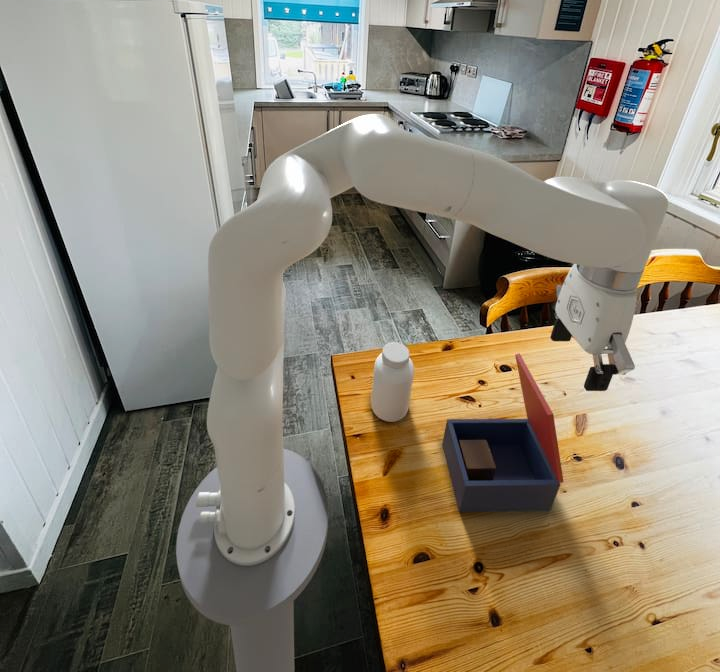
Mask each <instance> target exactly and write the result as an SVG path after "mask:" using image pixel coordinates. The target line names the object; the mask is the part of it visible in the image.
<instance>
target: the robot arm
mask: <svg viewBox="0 0 720 672" xmlns="http://www.w3.org/2000/svg"><path fill="white" fill-rule="evenodd" d="M353 187H354V188H355V190H356V191H357V192H358V193H359V194H360V195H362V196H363V197H365V198H366V199H367V200H368V199H369V201H372V202H375V203H379V204H382V205H386V206H391V207H396V208H400V209H405V210H409V211H413V212H419V213H424V214H429V215H433V216H437V217H442V218H445V219H449V220H453V221H454V220H455V221H458V222H463V223H466V224H470V225H472V226H474V227H476V228H479V229H480V230H482V231H484V232H487V233H489V234H491V235H493V236H495V237H497V238H501V239H503V240H505V241H508V242H510V243H512V244H514V245H517V246H519V247H522V248H524V249H526V250H529V251H531V252H533V253H536V254H539V255H541V256H543V257H547V258H549V259H553V260H556V261H560V262H565V263H569V264H572V266H571V268H570V270H569V271H568V273H567V275H566V277H565V279H564V282H563V283H562V284H557V285H556V289H555V290H556V298H555V300H554V303H555V308H554V310H555V312H554V318H555V320H554V323H553V327H552V330H551V334H550V337H549V338H550V340H551V341H552V342H570V341H572V338H573V339H574V340H575V341H576V342H577V344H578V345H579V346H580V347H581V349H583V351H585V353H587V354H588V355H592V359H593V366H590V368H589V370H588V373H587V375H586V378H585V381H584V383H583V389H584V390H585V391H586V392H606V391H607V390H608V389H609V387H610V386H609V385H610V383H611V381H612V379H613V376H615V375H617V376H619V375H620V376H621V375H626V374H627V373H630V372H631V371H634V370H635V369H636V368H635V367H636V366H635V363H634V361H633V358H632V357H631V353H630V351H629V349H628V346H627V345H626V343H627V340H628V337H629V335H630V330H631V327H632V324H633V321H634V316H635V311H636V306H637V298H638V293H637V292H636V291H637V289H638V287H639V285H640V282H641V279H642V277H643V274H644V271H645V268H646V266H647V263H648V260H649V258H650V255H651V253H652V251H653V247H654V245H655V243H656V240H657V238H658V235H659V232H660V230H661V227H662V224H663V221H664V219H665V217H666V214H667V211H668V208H669V199H668V196H667V195H666V194H665V192H663V191H662V190H660V189H659V188H656V187H655V186H652V185H650V184H646V183H643V182H639V181H634V180H626V179H625V180H624V179H615V180H610V181H599V180H592V179H586V178H580V177H574V176H565V175H561V176H554V177H551V178H548V179H545V180H542V179H539V178H538V177H536V176H535V175H532V174H530V173H528V172H527V171H525V170H523V169H522V168H520V167H518V166H516V165H514V164H513V163H511V162H509V161H506V160H505V159H502V158H500V157H498V156H496V155H493V154H491V153H488V152H485V151H481V150H477V149H473V148H469V147H466V146H462V145H458V144H456V143H451V142H448V141H444V140H440V139H437V138H433V137H430V136H428V135H427V136H426V135H423V134H420V133H416V132H412V131H409V130H406V129H403V127H401V126H400V125H399V124H398V123H397V122H396V121H395V120H394V119H392V118H391V117H390V116H387V115H385V114H379V113H368V114H364V115H360V116H358V117H355V118H353V119H351V120H348V121H346V122H344V123H343V124H340V125H338V126H337V127H335V128H332V129H330V130H329V131H327V132H324V133H322V134H320V135H319V136H317V137H315V138H313V139H310V140H309V141H307V142H305V143H302V144H300V145H299V146H296V147H294V148H292V149H290V150H289V151H287V152H285V153H283V154H281V155H280V156H278V157H277V158H275V160H274V161H273V162H271V163H270V164H269V166H268V167H267V169H266V170H265V172H264V174H263V176H262V179H261V182H260V187H259V191H258V195H257V199H256V201H254V202H253V203H252V204H250V205H248V206H247V207H245V208H243V209H242V210H240V211H238V212H236V213H235V214H233V215H231V216H230V217H229V218H227V220H225V221H224V222H223V223H222V224H221V226H220V227H218V229H217V230H216V232H215V233H214V235H213V236H212V239H211V241H210V243H209V247H208V257H207V275H208V277H207V278H208V322H209V323H208V324H209V325H208V326H209V327H208V329H209V330H208V331H209V332H208V340H209V341H208V343H209V350H210V352H211V356H212V359H213V361H214V363H215V365H216V366H217V369H216V371H215V375H214V379H213V384H212V388H211V391H210V395H209V400H208V405H207V406H208V407H207V414H206V430H207V434H208V437H209V439H210V441H211V443H212V446H213V450H214V455H215V456H214V457H215V461H216V462H215V463H216V467H217V470H218V478H219V486H220V490H219V492H216V493H211V492H199V494H198V497H197V502H196V506H197V507H208V506H216V509H217V511H216V512H210V511H202V512H201V514H200V519H199V522H200V523H208V522H214V535H215V540H216V544H217V546H218V549H219V550H220V552H221V553H222V555H223V556H224V557H225V558H226V559H227V560H228V561H230V562H232V563H234V564H237V565H242V566H252V565H256V564H260V563H262V562H264V561H266V560H268V559H269V558H271V557H272V556H273V555H275V554H276V553H277V552H278V551H279V550H280V549H281V548H282V546H283V545H284V543H285V542H286V540H287V539H288V537H289V535H290V532H291V530H292V527H293V523H294V517H295V505H294V498H293V495H292V492H291V490H290V489H289V487H288V486H287V484H286V483H285V482H284V449H285V448H284V446H285V445H284V427H283V417H284V415H283V413H284V411H283V410H284V408H283V407H284V366H285V364H284V362H285V361H284V360H285V328H286V311H287V309H286V307H287V290H286V289H287V288H286V286H285V282H284V272H285V271H286V270H287V269H288V268H290V267H291V266H292V265H294V264H295V263H297V262H299V261H301V260H303V259H305V258H306V257H308V256H310V255H311V254H312V253H314V252H316V250H318V248H319V247H320V246H321V245H322V244H323V243H324V242H325V240H326V239H327V237H328V236H329V233H330V231H331V228H332V223H333V206H332V201H331V199H332V198H334V197H336V196H338V195H340V194H342V193H344V192H346V191H348V190H350V189H352V188H353ZM602 355H607V359H608V363H604V362H603V361H604V360H603V356H602ZM289 515H291V516H289ZM267 551H269V552H268V553H266V552H267ZM230 552H232V553H231V554H229V553H230Z"/></svg>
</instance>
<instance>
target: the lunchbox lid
mask: <svg viewBox="0 0 720 672" xmlns="http://www.w3.org/2000/svg"><path fill="white" fill-rule="evenodd" d="M514 356H515V361H516V366H517V371H518V377H519V381H520V387H521V393H522V398H523V402H524V409H525V413H526V419H528V420H529V422H530V424H531V427H532V429H533V431H534V433H535V435H536V437H537V439H538V441H539V443H540V445H541V447H542V449H543V451H544V454H545V456H546V458H547V460H548V462H549V464H550V466H551V468H552V470H553V472H554V474H555V476H556V478H557V480H558V483H560V484H563V483H564V482H565V481H564V476H563V470H562V463H561V455H560V449H559V442H558V436H557V430H556V422H555V417H554V412H553V411H552V409H551V407H550V406H549V404H548V402H547V400H546V398H545V396H544V394H543V393H542V391H541V389H540V387H539V386H538V383H537V382H536V380H535V379H534V376H533V375H532V373H531V372H530V371H531V370H529V367H528V365H527V364H526V363H525V360H524V358H523V357H522V355H521V353H515V355H514Z"/></svg>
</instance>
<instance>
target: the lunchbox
mask: <svg viewBox="0 0 720 672" xmlns="http://www.w3.org/2000/svg"><path fill="white" fill-rule="evenodd" d="M445 423H446V424H445V428H444V433H443V437H442V449H443V453H444V457H445V461H446V465H447V469H448V473H449V478H450V481H451V486H452V489H453V494H454V497H455V498H454V499H455V501H456V506H457V511H458V513H489V512H490V513H491V512H492V513H493V512H494V513H496V512H500V513H501V512H546V511H547V512H549V511H551V510H552V507H553V505H554V503H555V500H556V497H557V495H558V493H559V489H560V487H561V483H558V480H557V478H556V476H555V474H554V472H553V470H552V468H551V466H550V464H549V462H548V460H547V458H546V456H545V454H544V451H543V449H542V447H541V445H540V443H539V441H538V439H537V437H536V435H535V433H534V431H533V429H532V427H531V424H530V422H529V420H528V418H455V419H454V418H447V419H446V422H445ZM459 440H486V441H487V443H488V446H489V449H490V452H491V455H492V457H493V460H494V463H495V466H496V471H495V475H494V478H493V481H469V480H468V476H467V473H466V469H465V466H464V462H463V459H462V455H461V452H460V448H459V445H458V443H459Z"/></svg>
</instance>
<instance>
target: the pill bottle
mask: <svg viewBox="0 0 720 672" xmlns="http://www.w3.org/2000/svg"><path fill="white" fill-rule="evenodd" d="M381 351H382V352H381V353H380V354H379V355H378V356H377V358H376V359H375V361H374V366H373V375H372V385H371V393H370V394H371V395H370V406H371V410H372V412H373V413H374V415H375V416H376V418H378V419H380V420H382V421H384V422H388V423H396V422H398V421H401V420H402V419H403V418H405V417H406V415H407V413H408V410H409V407H410V401H411V394H412V389H413V381H414V375H415V365H414V363H413V361H412V360H413V359H411V358H410V350H409V348H408V347H407V346H406V345H405V344H403V343H401V342H399V341H391V342H388V343H386V344H385V345H384V346H383V347H382V350H381Z"/></svg>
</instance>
